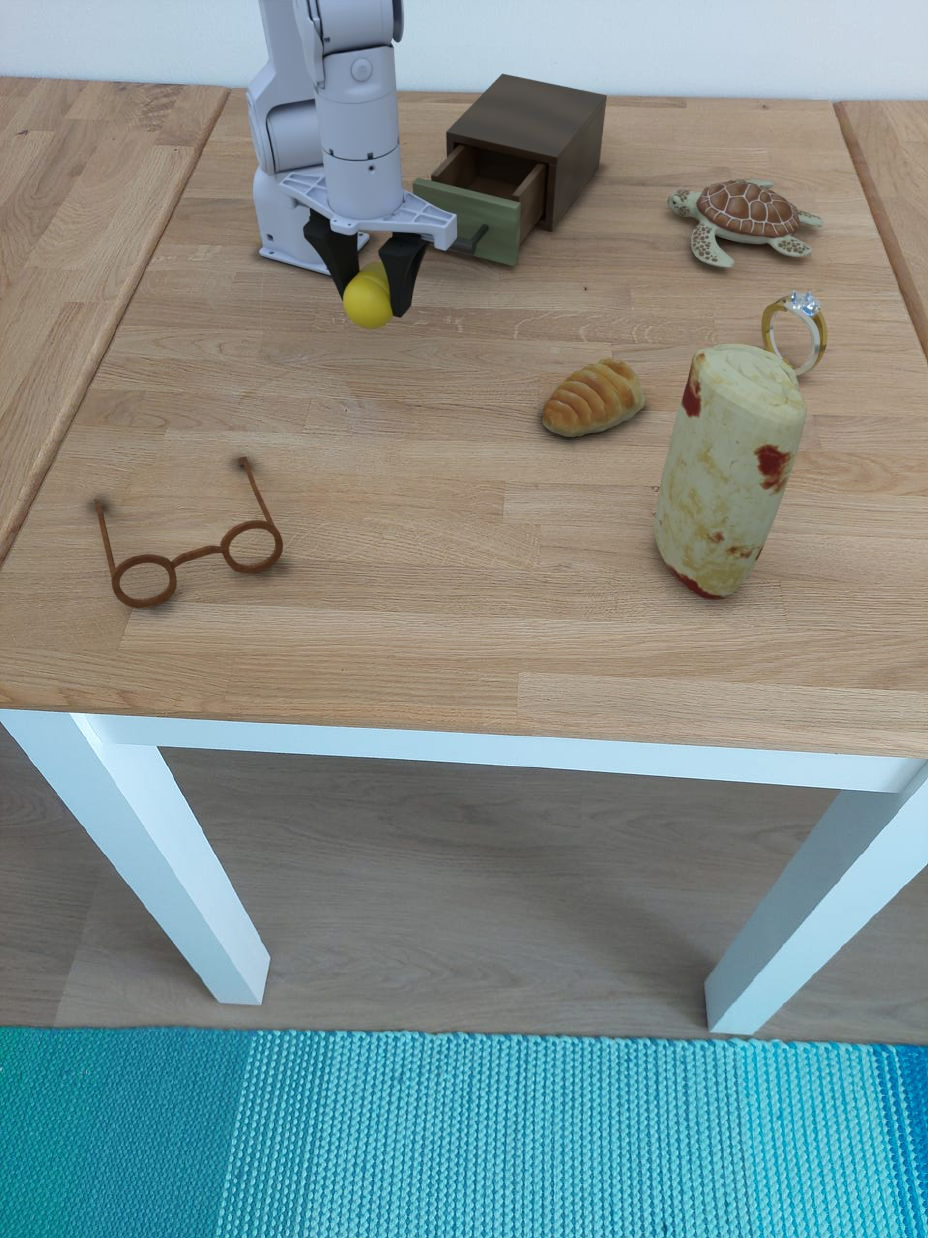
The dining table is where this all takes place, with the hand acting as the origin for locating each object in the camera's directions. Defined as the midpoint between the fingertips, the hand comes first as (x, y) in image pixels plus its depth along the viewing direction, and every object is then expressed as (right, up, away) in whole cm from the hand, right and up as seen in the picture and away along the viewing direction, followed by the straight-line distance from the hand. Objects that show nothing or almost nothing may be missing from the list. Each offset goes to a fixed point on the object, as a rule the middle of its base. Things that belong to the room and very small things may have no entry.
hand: (376, 302), depth 78 cm
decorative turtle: (+37, +16, +24) cm, 47 cm away
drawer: (+9, +15, +23) cm, 29 cm away
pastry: (+19, -8, +7) cm, 22 cm away
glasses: (-15, -20, -1) cm, 25 cm away
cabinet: (+14, +24, +30) cm, 41 cm away
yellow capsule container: (0, -1, +1) cm, 1 cm away
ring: (+38, -3, +10) cm, 39 cm away
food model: (+26, -23, -4) cm, 35 cm away
